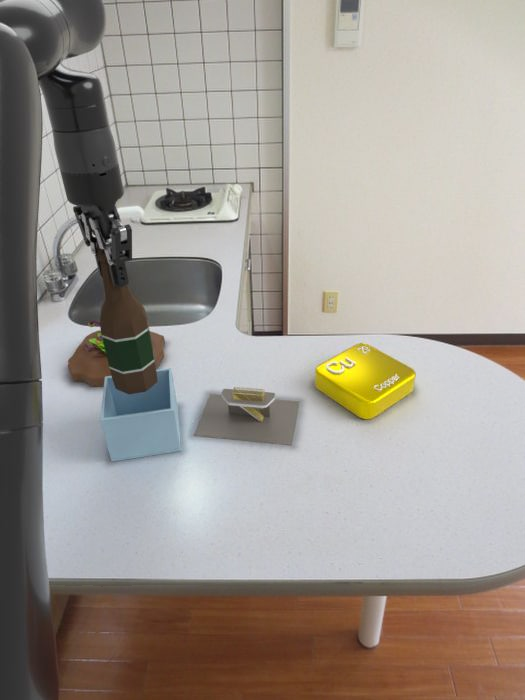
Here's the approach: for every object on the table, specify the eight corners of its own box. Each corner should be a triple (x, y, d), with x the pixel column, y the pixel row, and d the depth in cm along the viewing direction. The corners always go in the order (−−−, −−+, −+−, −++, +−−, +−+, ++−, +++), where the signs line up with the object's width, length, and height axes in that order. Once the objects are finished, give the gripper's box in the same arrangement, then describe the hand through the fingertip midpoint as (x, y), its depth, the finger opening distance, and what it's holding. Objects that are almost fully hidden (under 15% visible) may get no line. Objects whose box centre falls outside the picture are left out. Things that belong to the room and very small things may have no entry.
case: (180, 451, 92) (173, 410, 87) (111, 461, 91) (99, 420, 85) (177, 407, 102) (171, 367, 97) (115, 416, 101) (104, 376, 95)
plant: (146, 391, 107) (137, 345, 100) (57, 384, 109) (42, 339, 103) (175, 337, 123) (168, 295, 116) (96, 332, 126) (86, 291, 119)
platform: (291, 445, 93) (291, 417, 89) (193, 435, 96) (189, 408, 92) (299, 401, 102) (299, 374, 99) (210, 393, 105) (207, 367, 101)
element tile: (366, 423, 97) (368, 403, 94) (310, 385, 106) (310, 366, 104) (417, 389, 104) (420, 369, 101) (360, 356, 114) (362, 338, 111)
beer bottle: (150, 397, 86) (123, 262, 72) (105, 393, 87) (71, 260, 73) (165, 369, 92) (143, 240, 78) (123, 366, 93) (94, 238, 79)
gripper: (40, 158, 71) (71, 273, 81) (84, 180, 62) (113, 306, 72) (92, 148, 75) (115, 258, 85) (140, 167, 66) (160, 288, 76)
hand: (114, 280), depth 78 cm, fingers closed on beer bottle, 4 cm apart
